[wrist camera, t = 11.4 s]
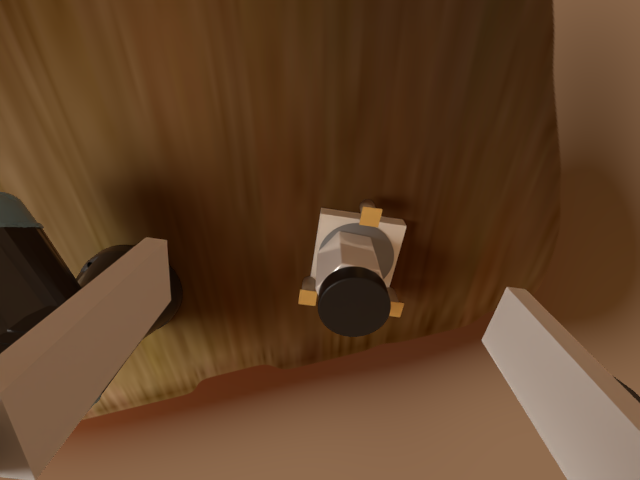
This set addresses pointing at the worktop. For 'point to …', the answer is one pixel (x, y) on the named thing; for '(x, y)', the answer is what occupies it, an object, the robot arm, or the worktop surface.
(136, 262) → the robot arm
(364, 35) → the worktop surface
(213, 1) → the worktop surface
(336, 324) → the jar
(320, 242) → the cradle board
